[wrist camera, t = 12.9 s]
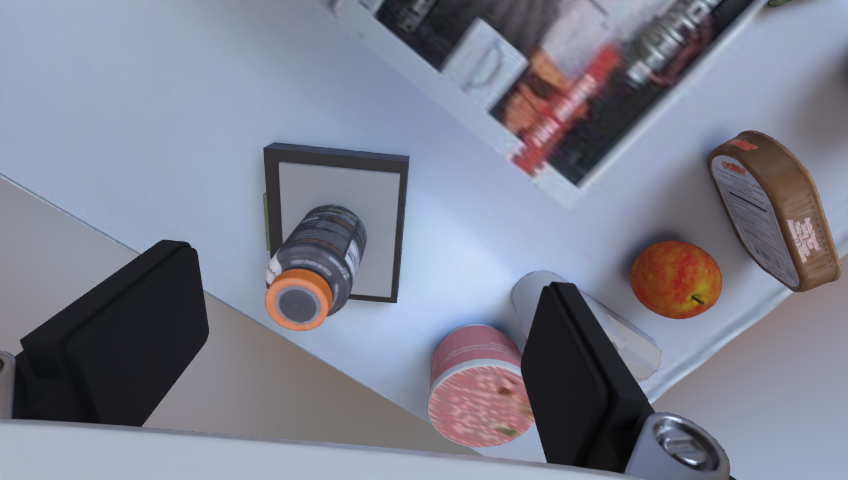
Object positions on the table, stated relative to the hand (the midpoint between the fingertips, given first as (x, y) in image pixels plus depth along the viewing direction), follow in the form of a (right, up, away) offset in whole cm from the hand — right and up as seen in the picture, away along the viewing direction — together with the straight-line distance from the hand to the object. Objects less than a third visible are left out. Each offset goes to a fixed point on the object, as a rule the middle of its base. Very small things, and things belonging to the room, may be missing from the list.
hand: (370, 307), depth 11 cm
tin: (+30, +6, +26) cm, 40 cm away
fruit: (+24, 0, +28) cm, 37 cm away
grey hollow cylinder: (+18, -7, +31) cm, 37 cm away
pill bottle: (-7, +2, +24) cm, 25 cm away
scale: (-7, +4, +27) cm, 28 cm away
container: (+7, -11, +33) cm, 35 cm away
